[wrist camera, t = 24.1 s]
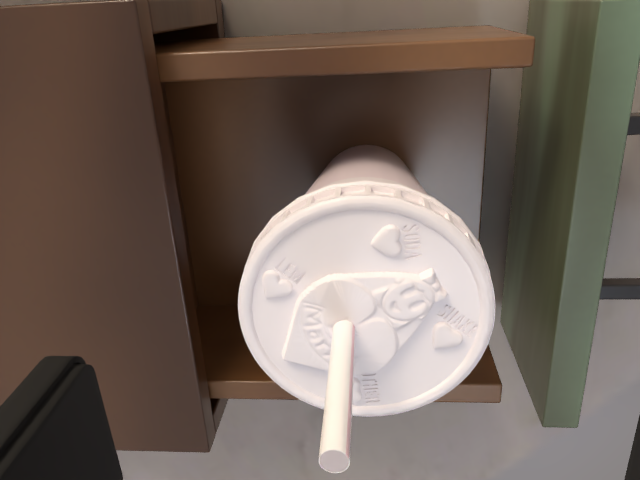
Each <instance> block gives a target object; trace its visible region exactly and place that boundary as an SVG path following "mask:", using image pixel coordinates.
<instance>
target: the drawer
mask: <svg viewBox="0 0 640 480" xmlns="http://www.w3.org/2000/svg"><path fill="white" fill-rule="evenodd" d="M154 46H155V52H156V59H157V65H158V72H159V78H160V84H161V91H162V97H163V103H164V110H165V116H166V122H167V129H168V135H169V142H170V148H171V154H172V161H173V167H174V173H175V180H176V186H177V193H178V199H179V205H180V212H181V218H182V224H183V231H184V237H185V244H186V250H187V256H188V263H189V269H190V275H191V282H192V288H193V294H194V301H195V307H196V314H197V320H198V326H199V333H200V339H201V345H202V352H203V358H204V365H205V371H206V377H207V384H208V390H209V396H210V398H223V399H288V400H300V399H298V398H296V397H295V396H293V395H291V394H290V393H288V392H287V391H285V390H284V389H282V388H281V387H280V386H279V385H278V384H276V383H275V382H274V381H273V380H272V379H271V378H270V377H269V376H268V375H267V374H266V373H265V372H264V371H263V369H262V368H261V367H260V366H259V364H258V363H257V361H256V360H255V359H254V357H253V355H252V354H251V352H250V350H249V348H248V346H247V344H246V341H245V339H244V336H243V333H242V330H241V326H240V321H239V314H238V293H239V286H240V282H241V278H242V274H243V272H244V267H245V265H246V262H247V259H248V256H249V254H250V251H251V248H252V246H253V243H254V241H255V239H256V238H257V237H258V235H259V234H260V233H261V232H262V230H263V229H264V228H265V226H266V225H267V224H268V222H269V221H270V220H271V218H272V217H273V216H274V215H276V214H277V213H278V212H280V211H281V210H282V209H284V208H285V207H286V206H288V205H289V204H290V203H292V202H293V201H294V200H295V199H297V198H298V197H300V196H303V195H305V194H306V192H307V191H308V190H309V188H310V187H311V186H312V185H313V183H314V182H315V181H316V180H317V178H318V177H319V176H320V174H321V173H322V172H323V171H324V169H325V168H326V167H327V165H328V164H329V163H330V162H331V161H332V159H333V158H335V157H336V156H337V155H338V154H339V153H341V152H343V151H344V150H346V149H349V148H351V147H355V146H359V145H375V146H379V147H383V148H385V149H388V150H389V151H391V152H393V153H394V154H396V155H397V156H398V157H399V158H400V159H401V160H402V161H403V162H404V163H405V165H406V166H407V167H408V169H409V170H410V171H411V173H412V174H413V175H414V177H415V178H416V179H417V181H418V182H419V183H420V185H421V186H422V187H423V189H424V190H425V191H426V193H427V194H428V195H429V196H431V197H434V198H435V199H436V200H438V201H439V202H440V203H442V204H443V205H444V206H446V207H447V208H448V209H450V210H451V211H452V212H454V213H455V214H456V215H458V216H459V217H460V218H461V219H462V220H463V222H464V223H465V224H466V226H467V227H468V228H469V230H470V231H471V232H472V234H473V235H474V236H475V238H476V239H477V240H478V242H479V238H480V223H481V209H482V194H483V180H484V165H485V150H486V136H487V121H488V107H489V92H490V78H491V69H501V68H523V78H522V89H521V100H520V111H519V122H518V133H517V144H516V155H515V166H514V177H513V188H512V199H511V210H510V221H509V233H508V244H507V255H506V266H505V277H504V288H503V299H502V310H501V321H500V322H501V324H502V327H503V329H504V332H505V334H506V337H507V339H508V342H509V344H510V347H511V349H512V352H513V354H514V357H515V359H516V362H517V364H518V367H519V369H520V372H521V374H522V377H523V379H524V382H525V384H526V387H527V389H528V392H529V394H530V397H531V399H532V402H533V404H534V407H535V409H536V412H537V414H538V417H539V419H540V422H541V424H542V426H543V427H567V428H577V427H578V423H579V417H580V411H581V405H582V399H583V393H584V387H585V381H586V376H587V370H588V364H589V358H590V352H591V346H592V340H593V334H594V328H595V322H596V316H597V310H598V304H599V299H640V278H603V275H604V269H605V263H606V257H607V251H608V245H609V239H610V233H611V227H612V221H613V215H614V209H615V203H616V197H617V191H618V185H619V179H620V173H621V168H622V162H623V156H624V150H625V144H626V138H627V135H640V113H631V108H632V102H633V96H634V90H635V84H636V78H637V72H638V66H639V61H640V0H530V1H529V11H528V22H527V34H522V33H518V32H514V31H509V30H505V29H501V28H497V27H493V26H490V25H484V26H463V27H442V28H421V29H400V30H379V31H358V32H337V33H316V34H295V35H274V36H253V37H233V38H212V39H191V40H170V41H154ZM501 391H502V384H501V381H500V378H499V375H498V372H497V369H496V366H495V363H494V360H493V357H492V354H491V351H490V348H489V345H488V346H487V348H486V350H485V352H484V354H483V356H482V357H481V359H480V360H479V362H478V364H477V365H476V366H475V368H474V369H473V370H472V371H471V373H470V374H469V375H468V376H467V377H466V378H465V379H464V380H463V381H462V382H461V383H460V384H459V385H457V386H456V387H455V388H454V389H453V390H451V391H450V392H448V393H447V394H445V395H444V396H442V397H441V398H439V399H437V400H435V401H433V402H483V403H499V402H500V401H501Z"/></svg>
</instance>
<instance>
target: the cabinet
mask: <svg viewBox="0 0 640 480" xmlns="http://www.w3.org/2000/svg"><path fill="white" fill-rule="evenodd" d="M212 38H225V32H224V23H223V14H222V5H221V0H102V1H84V2H66V3H48V4H30V5H12V6H0V406H1V405H2V404H3V403H4V402H5V400H6V399H7V398H8V397H9V396H10V395H11V394H12V392H13V391H14V390H15V389H16V388H17V387H18V386H19V385H20V383H21V382H22V381H23V380H24V379H25V378H26V377H27V375H28V374H29V373H30V372H31V371H32V370H33V369H34V368H35V366H36V365H37V364H38V363H39V362H40V361H41V360H42V359H43V358H44V357H46V356H80V357H82V358H83V359H84V360H85V362H86V364H89V365H92V367H93V368H94V370H95V373H96V377H97V381H98V385H99V388H100V392H101V396H102V400H103V404H104V407H105V411H106V415H107V419H108V422H109V426H110V430H111V434H112V438H113V441H114V445H115V449H116V450H128V451H168V452H210V449H211V447H212V444H213V441H214V438H215V434H216V432H217V429H218V426H219V423H220V421H221V418H222V415H223V412H224V409H225V407H226V404H227V401H228V399H223V398H210V396H209V390H208V384H207V377H206V371H205V365H204V358H203V352H202V345H201V339H200V333H199V326H198V320H197V314H196V307H195V301H194V294H193V288H192V282H191V275H190V269H189V263H188V256H187V250H186V244H185V237H184V231H183V224H182V218H181V212H180V205H179V199H178V193H177V186H176V180H175V173H174V167H173V161H172V154H171V148H170V142H169V135H168V129H167V122H166V116H165V110H164V103H163V97H162V91H161V84H160V78H159V72H158V65H157V59H156V52H155V46H154V41H170V40H191V39H212Z"/></svg>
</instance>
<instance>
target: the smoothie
mask: <svg viewBox="0 0 640 480" xmlns="http://www.w3.org/2000/svg"><path fill="white" fill-rule="evenodd" d="M238 314H239V321H240V326H241V330H242V333H243V336H244V339H245V341H246V344H247V346H248V348H249V350H250V352H251V354H252V355H253V357H254V359H255V360H256V361H257V363H258V364H259V366H260V367H261V368H262V369H263V371H264V372H265V373H266V374H267V375H268V376H269V377H270V378H271V379H272V380H273V381H274V382H275V383H276V384H278V385H279V386H280V387H281V388H282V389H284V390H285V391H287V392H288V393H290V394H291V395H293V396H295V397H296V398H298V399H300V400H302V401H304V402H306V403H308V404H310V405H312V406H315V407H318V408H320V409H323V410H324V415H323V424H322V433H321V442H320V451H319V465H320V466H321V467H322V469H324V470H325V471H327V472H330V473H340V472H343V471H345V470H346V469H347V468H348V467H349V465H350V449H351V426H352V416H364V417H373V416H386V415H393V414H399V413H403V412H407V411H411V410H414V409H417V408H419V407H422V406H425V405H427V404H429V403H431V402H433V401H435V400H437V399H439V398H441V397H442V396H444V395H445V394H447V393H448V392H450V391H451V390H453V389H454V388H455V387H456V386H457V385H459V384H460V383H461V382H462V381H463V380H464V379H465V378H466V377H467V376H468V375H469V374H470V373H471V371H472V370H473V369H474V368H475V366H476V365H477V364H478V362H479V360H480V359H481V357H482V356H483V354H484V352H485V350H486V348H487V346H488V343H489V340H490V338H491V334H492V330H493V326H494V320H495V295H494V289H493V284H492V280H491V274H490V270H489V267H488V264H487V261H486V259H485V256H484V253H483V251H482V248H481V245H480V243H479V242H478V240H477V239H476V238H475V236H474V235H473V234H472V232H471V231H470V230H469V228H468V227H467V226H466V224H465V223H464V222H463V220H462V219H461V218H460V217H459V216H458V215H456V214H455V213H454V212H452V211H451V210H450V209H448V208H447V207H446V206H444V205H443V204H442V203H440V202H439V201H438V200H436V199H435V198H434V197H431V196H429V195H428V194H427V193H426V191H425V190H424V189H423V187H422V186H421V185H420V183H419V182H418V181H417V179H416V178H415V177H414V175H413V174H412V173H411V171H410V170H409V169H408V167H407V166H406V165H405V163H404V162H403V161H402V160H401V159H400V158H399V157H398V156H397V155H396V154H394V153H393V152H391V151H389V150H388V149H385V148H383V147H379V146H375V145H359V146H355V147H351V148H349V149H346V150H344V151H343V152H341V153H339V154H338V155H337V156H336V157H335V158H333V159H332V161H331V162H330V163H329V164H328V165H327V167H326V168H325V169H324V171H323V172H322V173H321V174H320V176H319V177H318V178H317V180H316V181H315V182H314V183H313V185H312V186H311V187H310V188H309V190H308V191H307V192H306V194H305V195H303V196H300V197H298V198H297V199H295V200H294V201H293V202H292V203H290V204H289V205H288V206H286V207H285V208H284V209H282V210H281V211H280V212H278V213H277V214H276V215H274V216H273V217H272V218H271V220H270V221H269V222H268V224H267V225H266V226H265V228H264V229H263V230H262V232H261V233H260V234H259V235H258V237H257V238H256V239H255V241H254V243H253V246H252V248H251V251H250V254H249V256H248V259H247V262H246V265H245V267H244V272H243V274H242V278H241V282H240V286H239V293H238Z"/></svg>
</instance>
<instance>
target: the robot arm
mask: <svg viewBox="0 0 640 480" xmlns="http://www.w3.org/2000/svg"><path fill="white" fill-rule="evenodd" d="M0 480H123V476H122V472H121V468H120V464H119V460H118V456H117V453H116V449H115V445H114V441H113V438H112V434H111V430H110V426H109V422H108V419H107V415H106V411H105V407H104V404H103V400H102V396H101V392H100V388H99V385H98V381H97V377H96V373H95V370H94V368H93V367H92V365H89V364H86V362H85V360H84V359H83V358H82V357H80V356H46V357H44V358H43V359H42V360H41V361H40V362H39V363H38V364H37V365H36V366H35V368H34V369H33V370H32V371H31V372H30V373H29V374H28V375H27V377H26V378H25V379H24V380H23V381H22V382H21V383H20V385H19V386H18V387H17V388H16V389H15V390H14V391H13V392H12V394H11V395H10V396H9V397H8V398H7V399H6V400H5V402H4V403H3V404H2V405H1V406H0ZM625 480H640V416H639V421H638V424H637V429H636V433H635V437H634V441H633V446H632V450H631V455H630V459H629V463H628V467H627V471H626V476H625Z"/></svg>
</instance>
